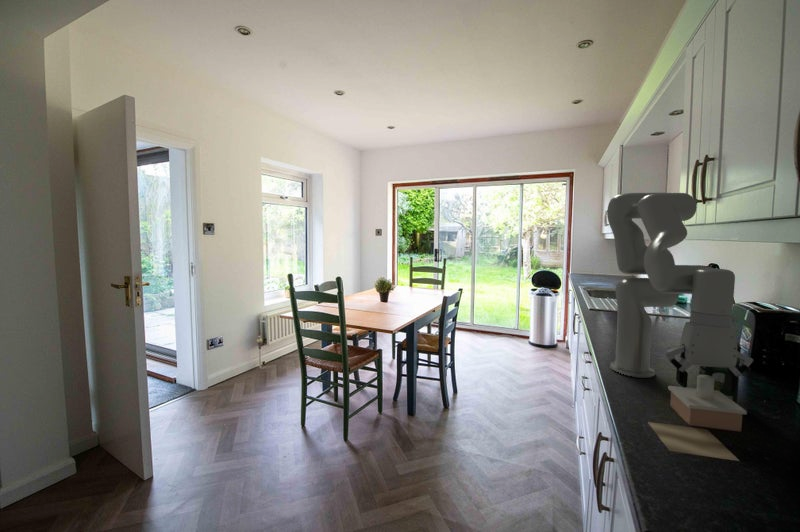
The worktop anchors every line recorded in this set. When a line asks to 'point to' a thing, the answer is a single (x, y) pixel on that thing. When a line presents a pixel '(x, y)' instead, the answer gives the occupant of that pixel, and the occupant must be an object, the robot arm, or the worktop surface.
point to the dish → (707, 416)
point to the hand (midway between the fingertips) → (705, 387)
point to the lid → (706, 397)
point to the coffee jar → (721, 378)
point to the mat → (691, 441)
